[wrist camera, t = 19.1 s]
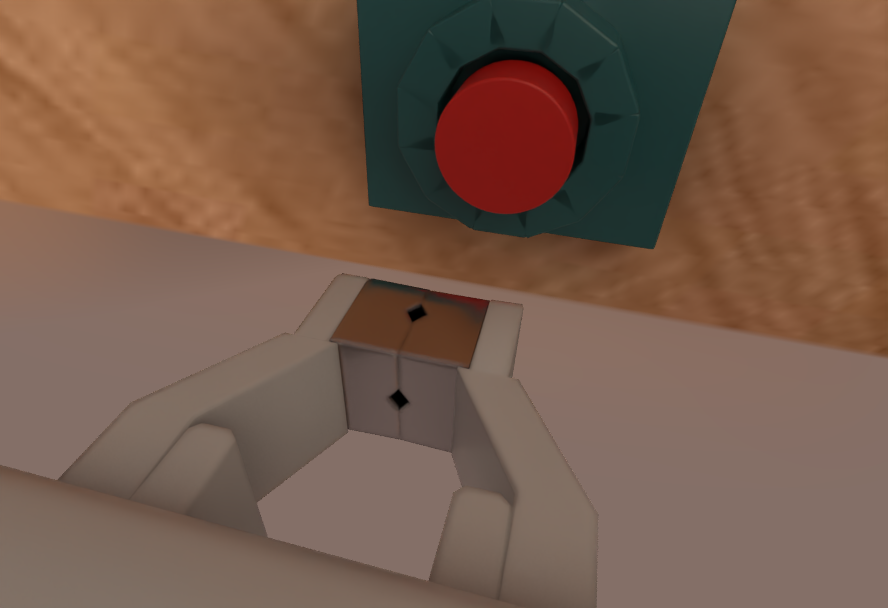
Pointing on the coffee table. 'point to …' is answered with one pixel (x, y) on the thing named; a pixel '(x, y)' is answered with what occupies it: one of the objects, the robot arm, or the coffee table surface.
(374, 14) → the box
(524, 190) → the button
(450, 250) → the coffee table surface
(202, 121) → the coffee table surface
